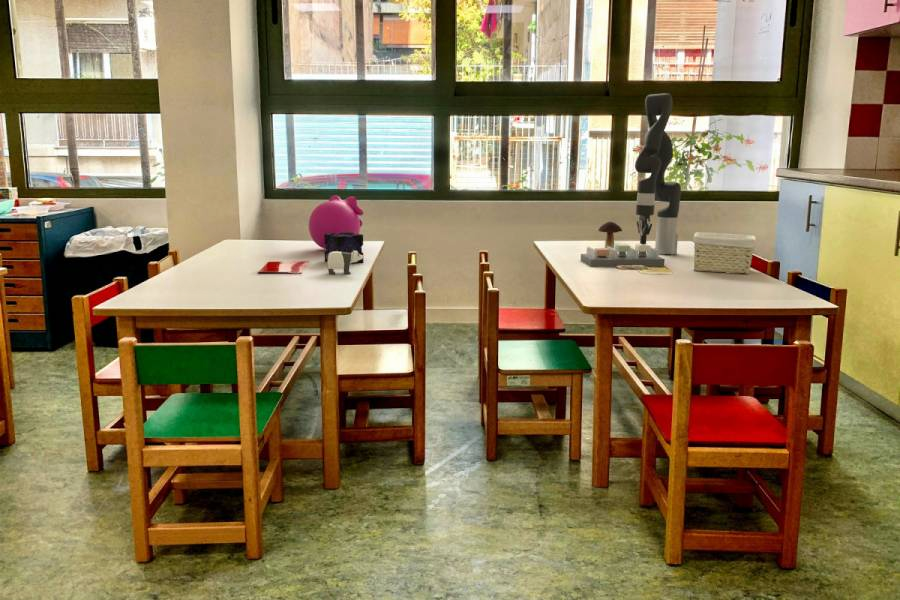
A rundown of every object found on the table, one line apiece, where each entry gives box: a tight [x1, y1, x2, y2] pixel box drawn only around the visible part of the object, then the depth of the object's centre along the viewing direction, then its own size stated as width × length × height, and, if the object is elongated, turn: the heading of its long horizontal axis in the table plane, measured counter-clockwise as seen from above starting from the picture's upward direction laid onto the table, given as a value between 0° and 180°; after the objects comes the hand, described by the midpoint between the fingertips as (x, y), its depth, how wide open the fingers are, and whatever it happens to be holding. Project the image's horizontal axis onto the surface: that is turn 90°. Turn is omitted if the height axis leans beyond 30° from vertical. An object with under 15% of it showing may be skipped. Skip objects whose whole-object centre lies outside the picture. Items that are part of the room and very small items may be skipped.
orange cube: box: [594, 247, 609, 257], centre depth 333 cm, size 5×5×5 cm
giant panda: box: [326, 250, 364, 276], centre depth 301 cm, size 15×6×10 cm, turn 101°
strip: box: [615, 265, 648, 270], centre depth 322 cm, size 12×4×1 cm, turn 96°
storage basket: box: [692, 231, 757, 275], centre depth 318 cm, size 24×16×15 cm
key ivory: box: [634, 243, 652, 256], centre depth 334 cm, size 5×5×5 cm
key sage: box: [614, 243, 631, 256], centre depth 333 cm, size 5×5×5 cm
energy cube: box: [324, 232, 364, 264], centre depth 328 cm, size 12×12×12 cm
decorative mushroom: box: [597, 221, 623, 249], centre depth 360 cm, size 11×11×15 cm
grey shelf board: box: [580, 246, 666, 268], centre depth 334 cm, size 32×16×6 cm, turn 96°
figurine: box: [308, 194, 364, 250], centre depth 360 cm, size 23×24×25 cm
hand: (642, 244), depth 334 cm, fingers closed
